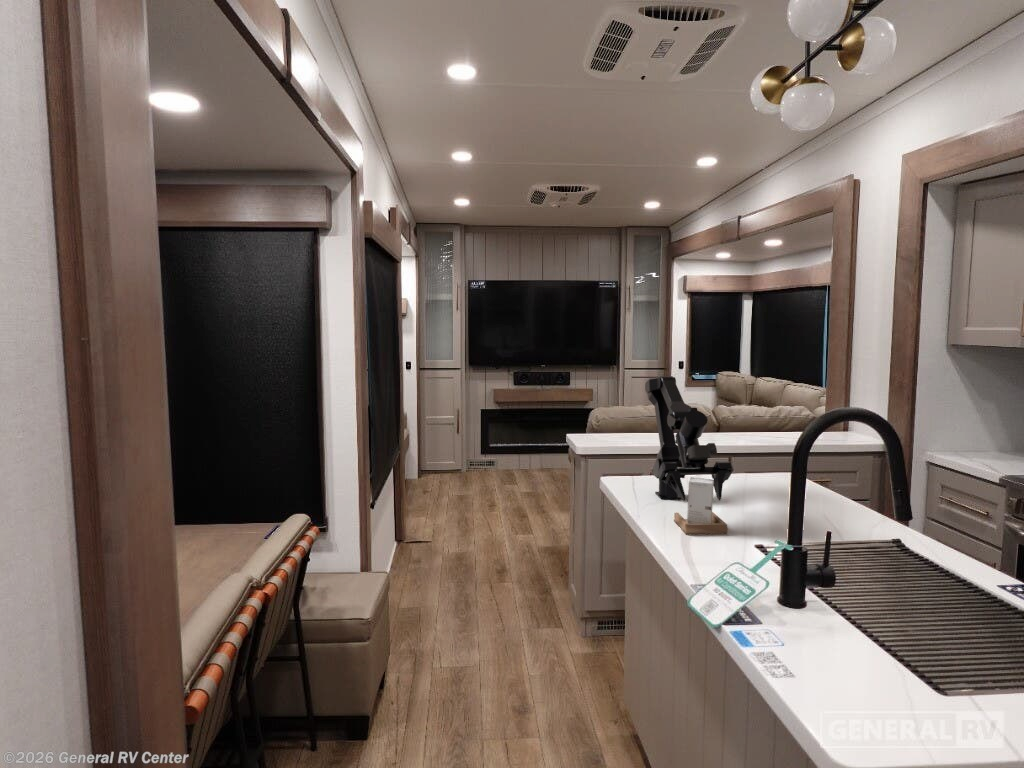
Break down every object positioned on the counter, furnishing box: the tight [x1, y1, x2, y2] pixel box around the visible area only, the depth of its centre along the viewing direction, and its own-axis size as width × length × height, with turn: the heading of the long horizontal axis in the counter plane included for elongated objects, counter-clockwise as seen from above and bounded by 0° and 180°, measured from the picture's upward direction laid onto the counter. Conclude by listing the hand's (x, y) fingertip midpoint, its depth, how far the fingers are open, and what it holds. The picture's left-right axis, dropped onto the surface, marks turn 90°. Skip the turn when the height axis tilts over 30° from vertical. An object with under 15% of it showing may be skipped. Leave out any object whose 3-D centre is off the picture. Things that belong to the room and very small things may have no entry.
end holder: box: [673, 511, 728, 536], centre depth 154 cm, size 10×10×2 cm
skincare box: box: [686, 476, 714, 524], centre depth 154 cm, size 6×4×12 cm
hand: (702, 500), depth 152 cm, fingers open, 9 cm apart
